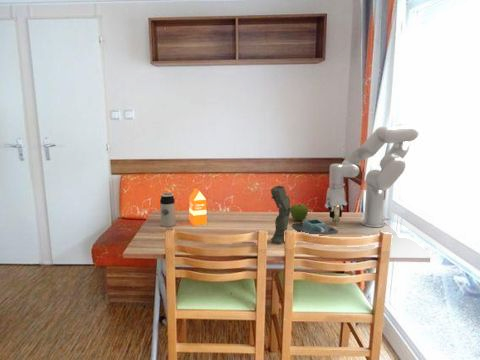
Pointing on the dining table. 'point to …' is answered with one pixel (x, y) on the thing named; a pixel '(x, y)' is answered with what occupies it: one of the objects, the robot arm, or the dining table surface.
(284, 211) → the mechanical leg
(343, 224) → the dining table surface
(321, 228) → the shaft mount
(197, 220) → the orange juice
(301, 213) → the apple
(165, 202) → the travel mug
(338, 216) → the coupler
